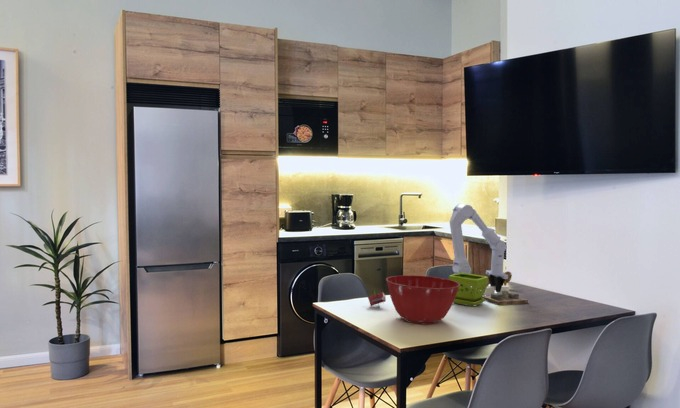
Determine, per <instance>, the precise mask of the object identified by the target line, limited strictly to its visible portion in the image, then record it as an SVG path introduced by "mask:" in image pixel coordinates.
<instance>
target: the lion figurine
mask: <svg viewBox="0 0 680 408" xmlns="http://www.w3.org/2000/svg"><path fill="white" fill-rule="evenodd" d="M504 274H506V275H508V279H506V280H505V282H504V283H503V285H502V286H507V284H509V283H510V281H511V280H512V277H513V276H512V275H513V274H512V272H511V271H505V272H504ZM487 286H490V282H489V279H488V283H487Z"/></svg>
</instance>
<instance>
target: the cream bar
mask: <svg viewBox="0 0 680 408" xmlns="http://www.w3.org/2000/svg"><path fill="white" fill-rule="evenodd" d="M495 290H496V286H491V285H488V286H487V287H486V290H485V293H484V295H483V296H485V295H486V296H491V294H492V293H495V292H496V291H495ZM502 290H507V291H509V292H510V286H508V285H506V286H504V285H503V286H502V288H501V291H500V292H496V293H499V294H502Z"/></svg>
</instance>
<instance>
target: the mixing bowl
mask: <svg viewBox="0 0 680 408" xmlns="http://www.w3.org/2000/svg"><path fill="white" fill-rule="evenodd" d="M385 281H386V283H387V287H388V293H389V296H390V297H389V298H390V299H391V301H392V304H393V307H394V309H395V312H396V313H397V314H398V315H399V317H401V318H403V320H404V321H406V322H410V323H413V324H420V325H421V324H422V325H426V324H427V325H429V324H437V323H438V322H440V321H441V320H443V319H444V318H445V317H446V316H447V314H448V313H449V312H450V310H451V308H452V305H453V304H454V303H453V302H454V299H455V297H456V294H457V291H458V287H459V286H460V284H459V283H458V282H455V281H452V280H449V278H442V277H437V276H427V275H415V274H414V275H413V274H412V275H408V274H407V275H392V276H388V277H386V278H385Z"/></svg>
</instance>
